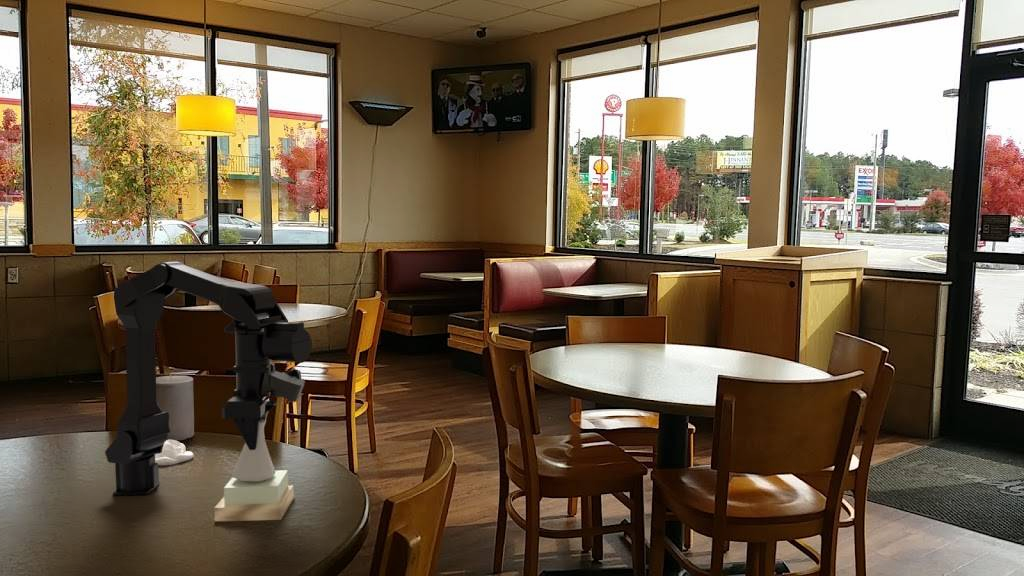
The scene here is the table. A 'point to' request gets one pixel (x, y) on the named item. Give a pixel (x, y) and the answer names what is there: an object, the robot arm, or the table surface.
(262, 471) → the flask
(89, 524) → the table surface
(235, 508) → the tower base
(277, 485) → the tower top
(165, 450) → the rose
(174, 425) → the pillar candle
